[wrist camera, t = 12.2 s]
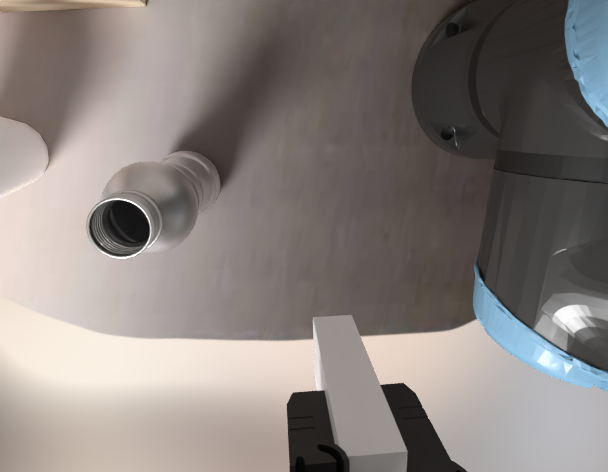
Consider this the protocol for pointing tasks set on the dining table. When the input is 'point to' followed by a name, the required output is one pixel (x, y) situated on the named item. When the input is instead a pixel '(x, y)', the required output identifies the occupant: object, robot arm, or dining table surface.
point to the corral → (64, 4)
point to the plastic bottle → (152, 205)
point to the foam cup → (20, 155)
